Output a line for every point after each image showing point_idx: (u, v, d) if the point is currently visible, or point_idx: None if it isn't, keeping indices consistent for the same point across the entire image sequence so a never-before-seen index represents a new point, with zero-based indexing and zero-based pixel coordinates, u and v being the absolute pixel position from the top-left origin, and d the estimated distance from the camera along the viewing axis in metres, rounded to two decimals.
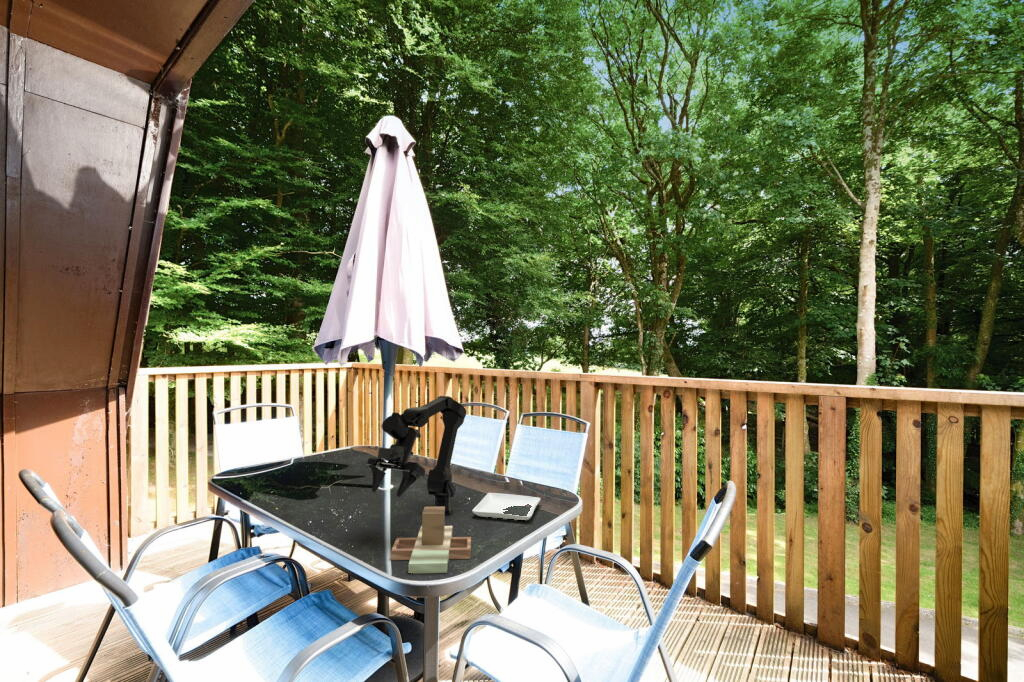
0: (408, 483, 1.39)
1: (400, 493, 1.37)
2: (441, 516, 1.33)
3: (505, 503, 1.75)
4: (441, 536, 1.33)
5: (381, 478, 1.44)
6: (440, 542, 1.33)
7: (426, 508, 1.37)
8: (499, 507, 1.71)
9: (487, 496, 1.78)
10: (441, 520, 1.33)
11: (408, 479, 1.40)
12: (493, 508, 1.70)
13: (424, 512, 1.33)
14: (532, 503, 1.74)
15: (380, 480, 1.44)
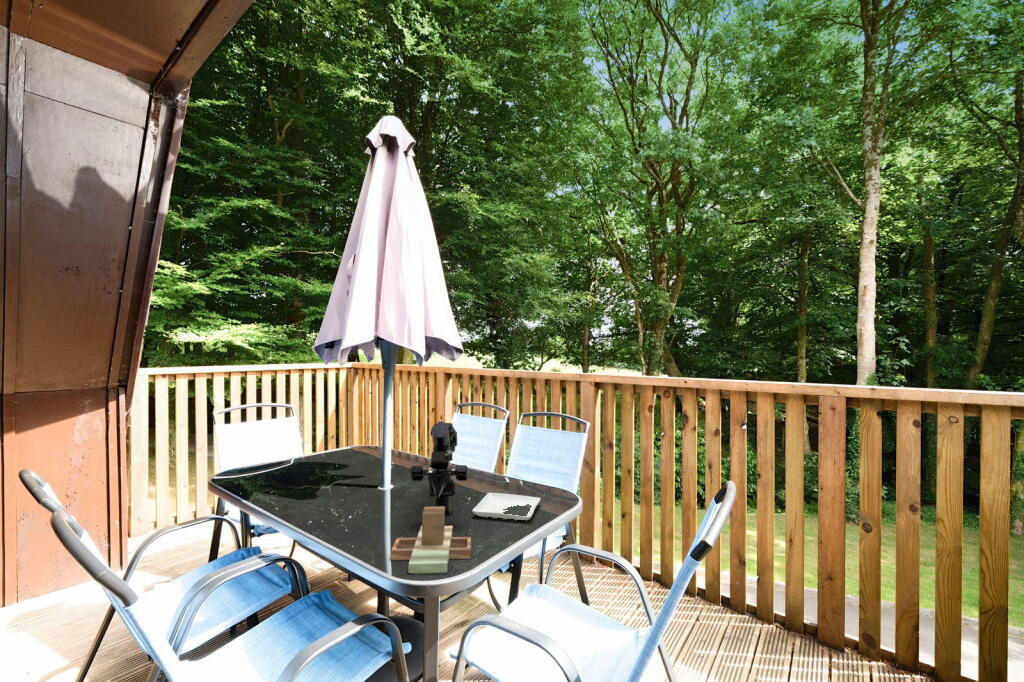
0: (443, 485, 1.52)
1: (439, 493, 1.48)
2: (441, 516, 1.33)
3: (505, 503, 1.75)
4: (441, 536, 1.33)
5: (437, 485, 1.52)
6: (440, 542, 1.33)
7: (426, 508, 1.37)
8: (499, 507, 1.71)
9: (487, 496, 1.78)
10: (441, 520, 1.33)
11: None
12: (493, 508, 1.70)
13: (424, 512, 1.33)
14: (532, 503, 1.74)
15: (437, 487, 1.51)
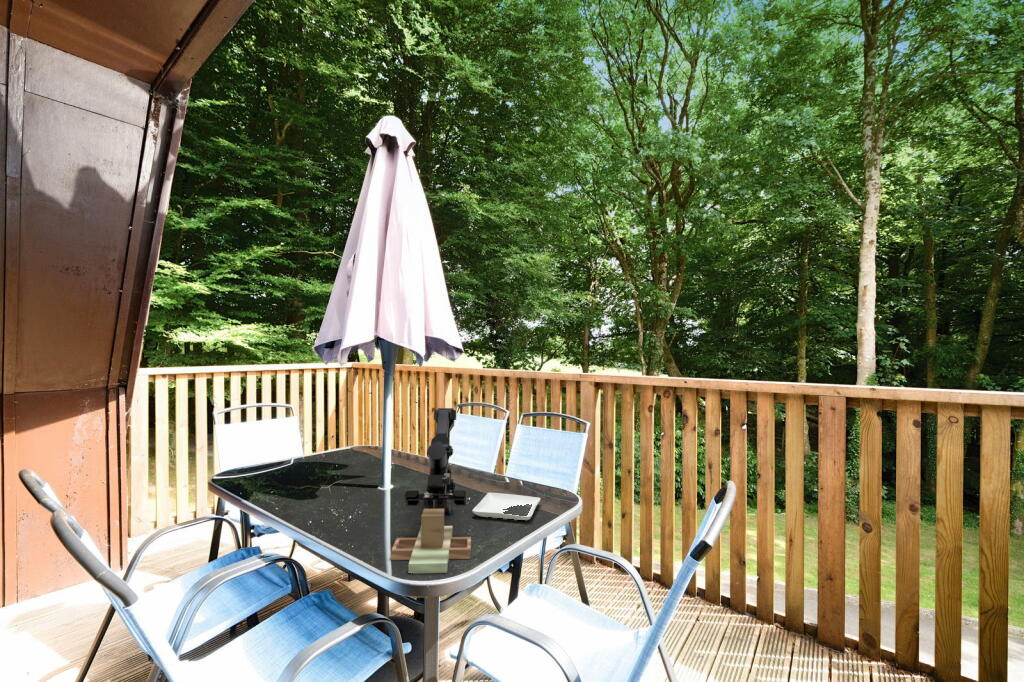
0: None
1: None
2: (440, 518, 1.31)
3: (505, 503, 1.75)
4: (440, 539, 1.31)
5: None
6: (439, 545, 1.31)
7: (426, 510, 1.35)
8: (499, 507, 1.71)
9: (487, 496, 1.78)
10: (440, 523, 1.31)
11: None
12: (493, 508, 1.70)
13: (423, 514, 1.31)
14: (532, 503, 1.74)
15: None
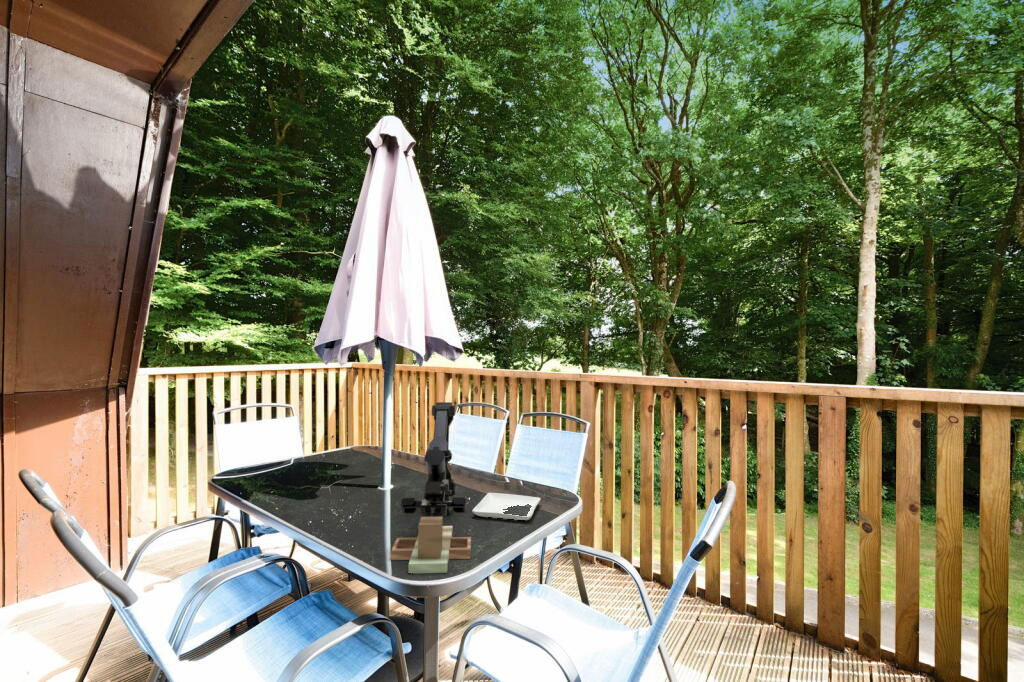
0: None
1: None
2: (439, 527, 1.24)
3: (505, 503, 1.75)
4: (439, 549, 1.24)
5: None
6: (437, 555, 1.24)
7: (423, 518, 1.28)
8: (499, 507, 1.71)
9: (487, 496, 1.78)
10: (439, 532, 1.24)
11: None
12: (493, 508, 1.70)
13: (420, 523, 1.25)
14: (532, 503, 1.74)
15: None
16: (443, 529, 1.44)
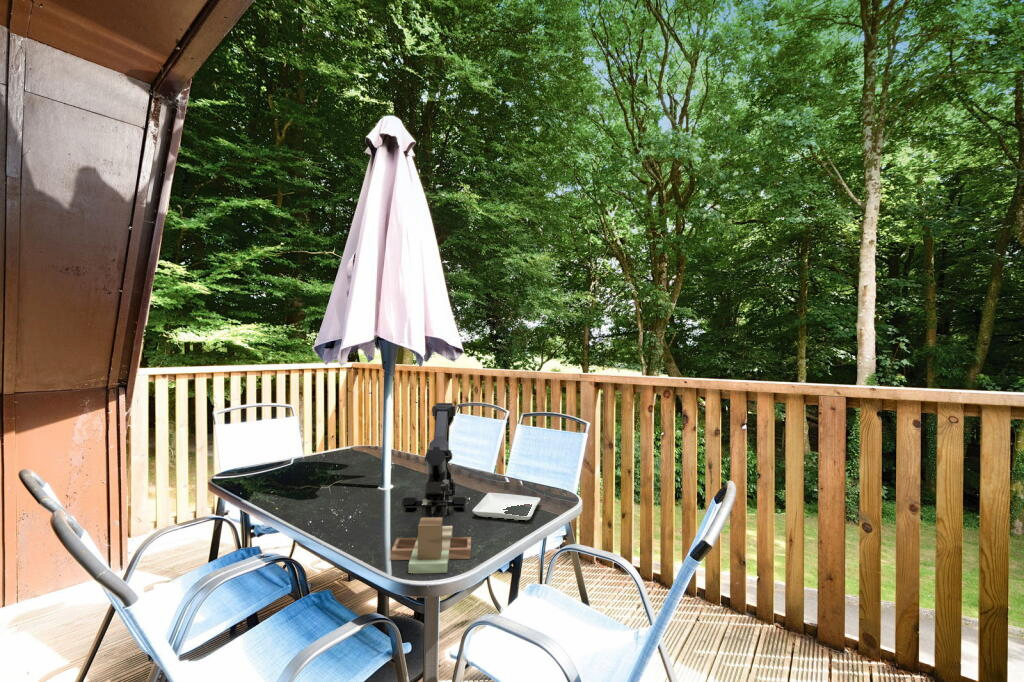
0: None
1: None
2: (438, 528, 1.24)
3: (505, 503, 1.75)
4: (438, 550, 1.24)
5: None
6: (437, 556, 1.23)
7: (423, 519, 1.28)
8: (499, 507, 1.71)
9: (487, 496, 1.78)
10: (438, 533, 1.24)
11: None
12: (493, 508, 1.70)
13: (420, 524, 1.24)
14: (532, 503, 1.74)
15: None
16: (443, 529, 1.44)
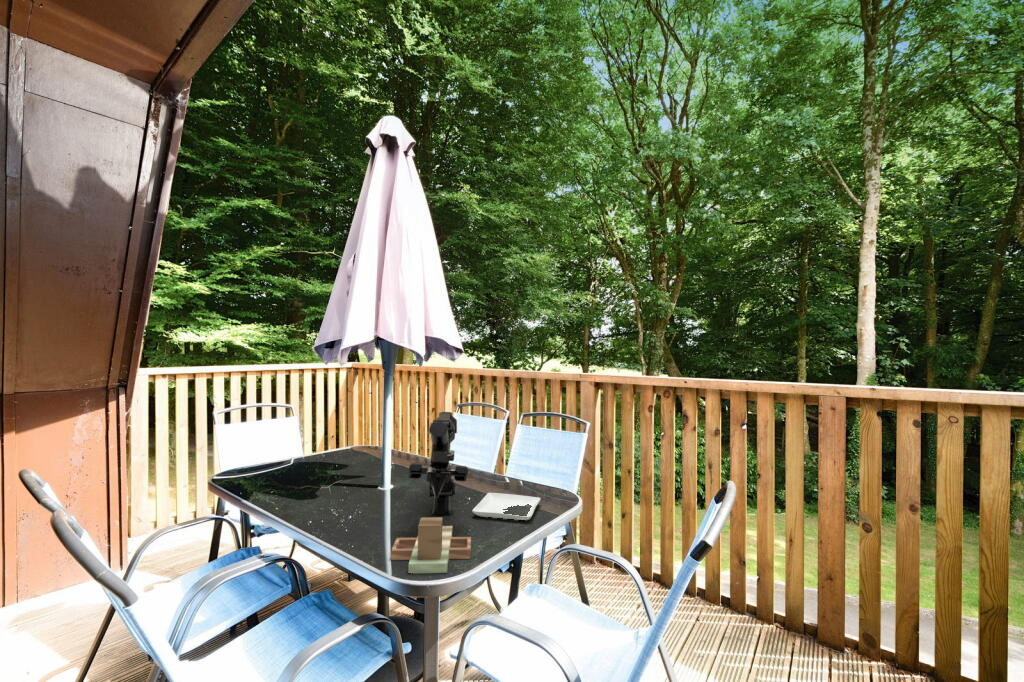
0: (442, 485, 1.48)
1: (438, 494, 1.45)
2: (438, 528, 1.24)
3: (505, 503, 1.75)
4: (438, 550, 1.24)
5: None
6: (437, 556, 1.23)
7: (423, 519, 1.28)
8: (499, 507, 1.71)
9: (487, 496, 1.78)
10: (438, 533, 1.24)
11: None
12: (493, 508, 1.70)
13: (420, 524, 1.24)
14: (532, 503, 1.74)
15: None
16: (443, 529, 1.44)
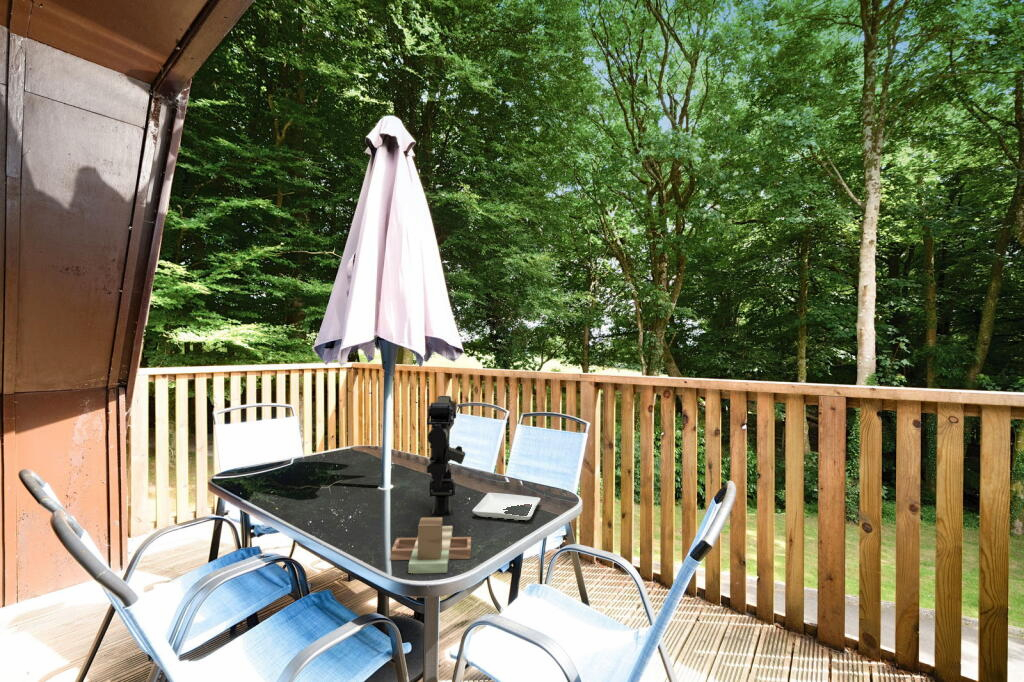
0: None
1: None
2: (438, 528, 1.24)
3: (505, 503, 1.75)
4: (438, 550, 1.24)
5: None
6: (437, 556, 1.23)
7: (423, 519, 1.28)
8: (499, 507, 1.71)
9: (487, 496, 1.78)
10: (438, 533, 1.24)
11: None
12: (493, 508, 1.70)
13: (420, 524, 1.24)
14: (532, 503, 1.74)
15: None
16: (443, 529, 1.44)
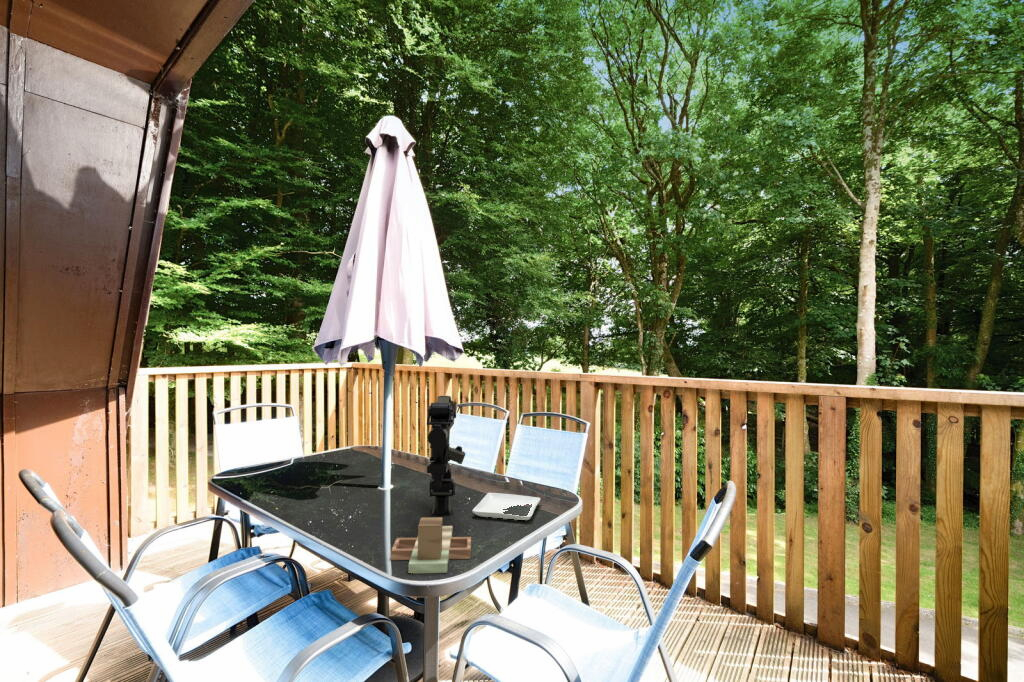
0: None
1: None
2: (438, 528, 1.24)
3: (505, 503, 1.75)
4: (438, 550, 1.24)
5: None
6: (437, 556, 1.23)
7: (423, 519, 1.28)
8: (499, 507, 1.71)
9: (487, 496, 1.78)
10: (438, 533, 1.24)
11: None
12: (493, 508, 1.70)
13: (420, 524, 1.24)
14: (532, 503, 1.74)
15: None
16: (443, 529, 1.44)
